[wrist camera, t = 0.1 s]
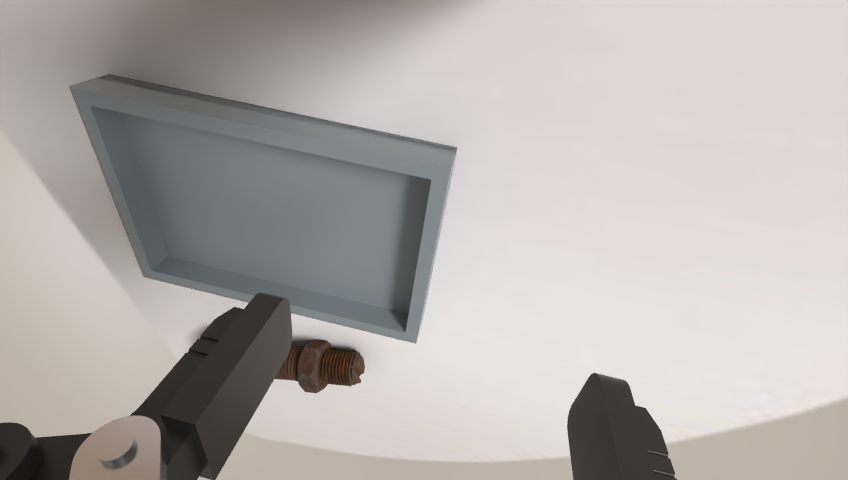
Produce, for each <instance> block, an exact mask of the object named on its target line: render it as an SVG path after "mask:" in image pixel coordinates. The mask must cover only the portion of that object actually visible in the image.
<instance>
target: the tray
mask: <svg viewBox="0 0 848 480" xmlns="http://www.w3.org/2000/svg"><path fill="white" fill-rule="evenodd" d="M69 87H70V90H71V93H72V95H73V98H74V100H75V103H76V105H77V108H78V110H79V113H80V116H81V118H82V121H83V123H84V126H85V128H86V131H87V133H88V136H89V138H90V141H91V144H92V146H93V149H94V151H95V154H96V156H97V159H98V161H99V164H100V167H101V169H102V172H103V174H104V177H105V179H106V182H107V184H108V187H109V190H110V192H111V195H112V197H113V200H114V202H115V205H116V207H117V210H118V213H119V215H120V218H121V220H122V223H123V225H124V228H125V230H126V233H127V236H128V238H129V241H130V243H131V246H132V248H133V251H134V253H135V256H136V258H137V261H138V264H139V266H140V269H141V271H142V274H143V276H144V277H146V278H150V279H155V280H159V281H163V282H167V283H171V284H175V285H179V286H183V287H187V288H191V289H195V290H199V291H204V292H208V293H212V294H216V295H220V296H224V297H228V298H232V299H236V300H240V301H244V302H248V303H249V302H250V301H251V300H252V299H253V297H254V296H255V295H256V294H258V293H260V292H262V293H266V294H270V295H275V296H279V297H283V298H287V299H288V300H289V302H290V312H291V313H293V314H297V315H302V316H306V317H310V318H314V319H318V320H322V321H326V322H330V323H334V324H338V325H342V326H347V327H351V328H355V329H359V330H363V331H367V332H371V333H375V334H379V335H383V336H387V337H391V338H396V339H400V340H404V341H408V342H412V343H416V342H417V338H418V334H419V330H420V326H421V322H422V318H423V314H424V309H425V304H426V299H427V294H428V289H429V284H430V279H431V274H432V269H433V264H434V260H435V255H436V250H437V245H438V240H439V235H440V230H441V225H442V220H443V215H444V210H445V205H446V200H447V195H448V190H449V185H450V181H451V176H452V171H453V166H454V161H455V156H456V151H457V147H452V146H447V145H442V144H438V143H433V142H428V141H423V140H419V139H414V138H409V137H404V136H400V135H395V134H390V133H385V132H381V131H376V130H371V129H366V128H361V127H357V126H352V125H347V124H342V123H338V122H333V121H328V120H323V119H319V118H314V117H309V116H304V115H300V114H295V113H290V112H285V111H280V110H276V109H271V108H266V107H261V106H257V105H252V104H247V103H242V102H238V101H233V100H228V99H223V98H219V97H214V96H209V95H204V94H199V93H195V92H190V91H185V90H180V89H176V88H171V87H166V86H161V85H157V84H152V83H147V82H142V81H137V80H133V79H128V78H123V77H118V76H114V75H106V76H102V77H99V78H96V79H92V80H89V81H86V82H82V83H79V84H76V85H72V86H69Z"/></svg>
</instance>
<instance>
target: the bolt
mask: <svg viewBox="0 0 848 480" xmlns="http://www.w3.org/2000/svg"><path fill="white" fill-rule="evenodd" d="M364 368H365V366H364V360H363V357H362V356H361V355H360V353H359V352H358V353H357V352H353V351H352V352H350V351H348V352H347V351H340V350H338V351H337V350H335V351H334V350H332V347H331V345H330V343H329V342H328V341H324V340H313V341H311V342H309V343H307V344H306V345H305V347H294V346H291V347H290V351H289V353H288V356H287V358H286V360H285V361H284V363H283V365H282V367H281V368H280V370H279V372H278V373H277V375H276V377H275V378H274V379H286V380H295V381H298V382H299V385H300V386H301V388H302V389H303V390H304V391H305V392H311V393H317V392H319V391H321V390H323V389H324V388H325V387H326V386H327V384H335V385H345V386H351V385H355V384H357V383H360V382H361V380H360V378H359V376H360V375H361V374H363V373H364Z"/></svg>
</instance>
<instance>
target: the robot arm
mask: <svg viewBox="0 0 848 480" xmlns="http://www.w3.org/2000/svg"><path fill="white" fill-rule="evenodd" d="M291 343H292V325H291V312H290V302H289V300H288V299H287V298H283V297H279V296H275V295H270V294H266V293H262V292H260V293H258V294H256V295H255V296H254V297H253V299H252V300H251V301H250V302H249V304H248V305H247V306H246V307H245V309H240V308H236V307H234V308H232V309H230V310H229V311H227V312H226V313H224V314H222V315H221V316H219V317H218V318H216V319H215V320H214V321H213V322H212V323H211V324H210V325H209V327H208V328H207V329H206V330H205V331H204V332H203V334H202V335H201V337H200V339H197V341H196V342H195V343H194V344H193V345H192V346H191V348H190V349H189V352H188V353H185V355H184V356H183V357H182V358H181V359H180V360H179V362H178V363H177V364H176V365H175V366H174V367H173V369H172V370H171V371H170V372H169V373H168V374H167V376H166V377H165V378H164V379H163V380H162V381H161V383H160V384H159V385H158V386H157V387H156V388H155V390H154V391H153V392H152V393H151V394H150V396H149V397H148V398H147V399H146V400H145V401H144V402H143V404H142V405H141V406H140V407H139V408H138V409H137V410H136V411H135V412H133V413H132V414H131V415H130V416H127V417H122V418H119V419H116V420H113V421H112V422H109V423H107V424H105V425H104V426H102V427H100V428H99V429H97V430H96V431H95V432H93V433H88V434H80V435H65V436H52V437H40V438H35V437H34V436H33V435H32V434H31V433H30V431H29V430H28V429H27V428H26V427H25V426H23V425H21V424H18V423H0V480H197V479H198V477H199V476H200V477H204V478H207V479H211V480H215V479H216V478H217V476H218V474H219V472H220V471H221V469H222V467H223V466H224V464H225V462H226V460H227V459H228V457H229V455H230V454H231V452H232V450H233V449H234V447H235V445H236V443H237V442H238V440H239V438H240V437H241V435H242V433H243V431H244V430H245V428H246V426H247V425H248V423H249V421H250V419H251V418H252V416H253V414H254V413H255V411H256V409H257V408H258V406H259V404H260V402H261V401H262V399H263V397H264V396H265V394H266V392H267V390H268V389H269V387H270V385H271V384H272V382H273V380H274V378H275V377H276V375H277V373H278V372H279V370H280V368H281V367H282V365H283V363H284V361H285V360H286V358H287V356H288V353H289V351H290V347H291ZM567 429H568V438H569V447H570V455H571V463H572V471H573V479H574V480H677V479H675V477H674V475H675V472H674V469H673V466H672V463H671V460H670V459H669V458H668V452H667V448H666V445H665V442H664V439H663V436H662V432H661V430H660V429H659V427H658V426H657V424H656V423H655V421H654V420H653V418H652V417H651V415H650V414H649V412H648V411H647V410H646V408H643V407H639V406H635V404H634V400H633V397H632V393H631V390H630V387H629V385H628V383H627V382H626V381H625V380H621V379H617V378H613V377H609V376H605V375H601V374H596V373H593V374H591V375H590V377H589V378H588V380H587V381H586V383H585V385H584V386H583V388H582V390H581V391H580V393H579V394H578V396H577V398H576V399H575V401H574V403H573V404H572V406H571V408H570V411H569V415H568V424H567Z"/></svg>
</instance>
